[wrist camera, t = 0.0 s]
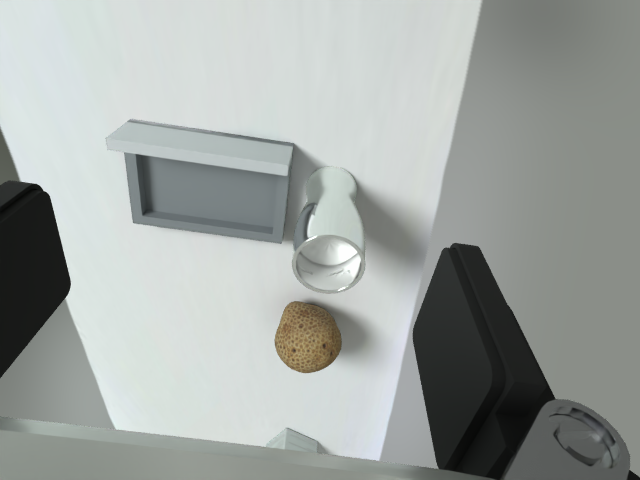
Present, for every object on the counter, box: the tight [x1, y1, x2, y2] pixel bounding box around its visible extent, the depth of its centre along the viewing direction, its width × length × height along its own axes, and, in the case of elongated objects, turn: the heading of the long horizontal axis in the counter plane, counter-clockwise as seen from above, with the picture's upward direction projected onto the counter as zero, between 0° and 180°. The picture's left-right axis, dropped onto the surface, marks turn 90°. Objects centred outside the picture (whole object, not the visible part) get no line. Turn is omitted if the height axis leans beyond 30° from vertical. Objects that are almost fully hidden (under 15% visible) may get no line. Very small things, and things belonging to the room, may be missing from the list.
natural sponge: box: [275, 301, 342, 373], centre depth 57 cm, size 9×9×10 cm
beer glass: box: [292, 166, 366, 294], centre depth 44 cm, size 7×7×15 cm
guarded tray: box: [106, 119, 294, 244], centre depth 47 cm, size 12×18×6 cm, turn 82°
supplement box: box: [266, 428, 317, 453], centre depth 75 cm, size 7×7×13 cm
